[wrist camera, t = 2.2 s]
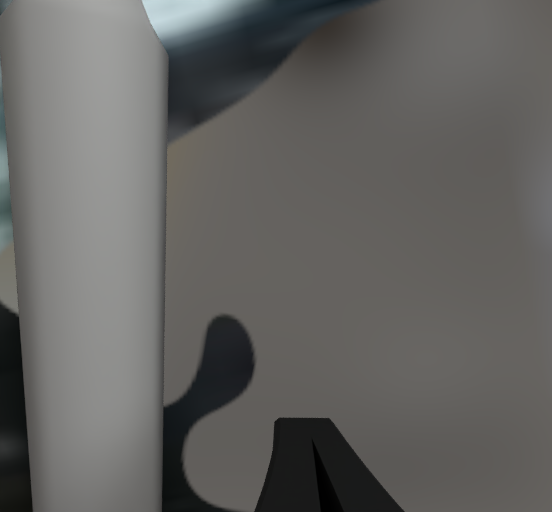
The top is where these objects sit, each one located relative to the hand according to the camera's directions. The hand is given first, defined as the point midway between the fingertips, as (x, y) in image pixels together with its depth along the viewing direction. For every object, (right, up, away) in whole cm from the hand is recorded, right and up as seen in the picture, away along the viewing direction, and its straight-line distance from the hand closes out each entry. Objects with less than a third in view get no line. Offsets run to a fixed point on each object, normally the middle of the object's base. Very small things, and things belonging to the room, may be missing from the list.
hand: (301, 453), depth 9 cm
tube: (-8, +2, +8) cm, 12 cm away
